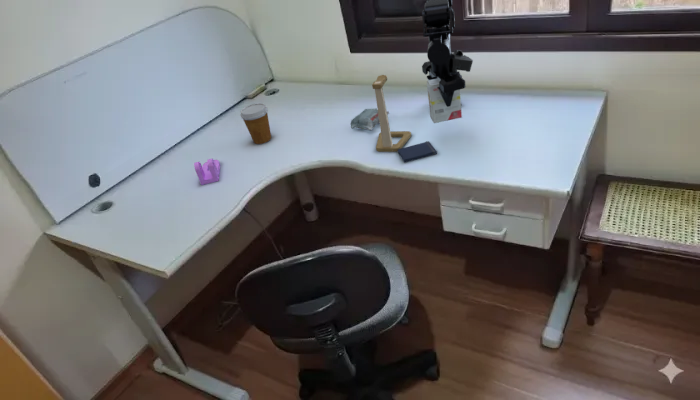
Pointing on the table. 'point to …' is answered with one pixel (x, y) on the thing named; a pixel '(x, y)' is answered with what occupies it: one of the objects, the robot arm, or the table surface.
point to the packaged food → (366, 119)
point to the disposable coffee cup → (257, 122)
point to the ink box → (442, 104)
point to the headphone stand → (386, 122)
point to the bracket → (205, 174)
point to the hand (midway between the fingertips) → (445, 102)
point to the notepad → (417, 151)
